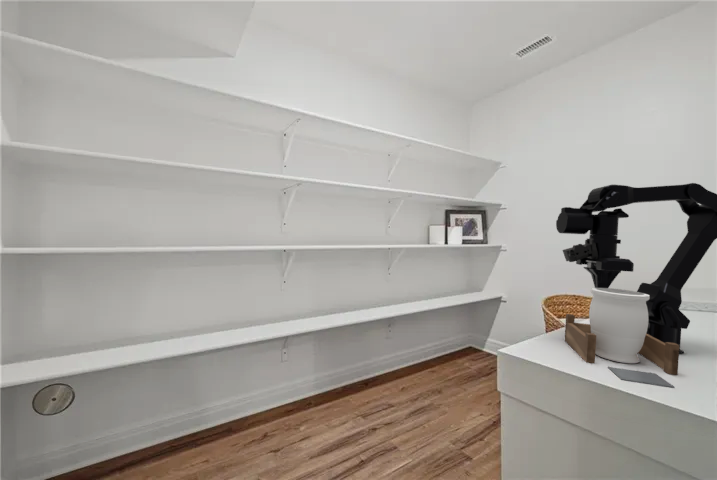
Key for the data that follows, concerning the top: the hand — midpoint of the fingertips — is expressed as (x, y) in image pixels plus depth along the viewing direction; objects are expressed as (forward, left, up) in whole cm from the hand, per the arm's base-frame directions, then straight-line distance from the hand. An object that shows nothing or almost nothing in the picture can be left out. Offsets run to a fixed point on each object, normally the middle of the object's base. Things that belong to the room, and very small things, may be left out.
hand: (599, 295), depth 82 cm
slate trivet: (+1, +22, -12) cm, 25 cm away
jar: (0, +10, -12) cm, 16 cm away
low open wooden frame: (0, +10, -12) cm, 16 cm away
